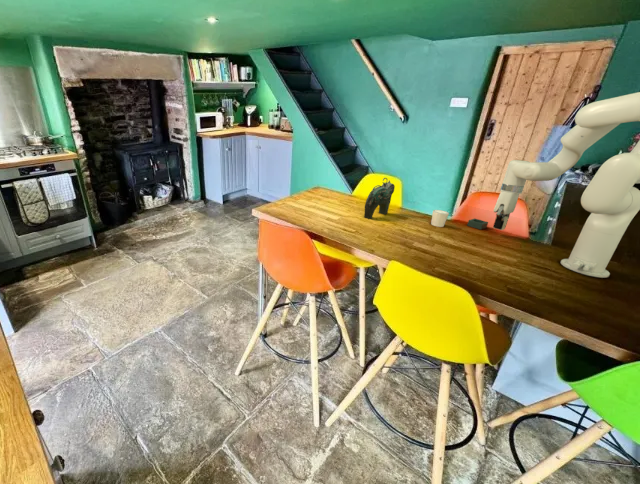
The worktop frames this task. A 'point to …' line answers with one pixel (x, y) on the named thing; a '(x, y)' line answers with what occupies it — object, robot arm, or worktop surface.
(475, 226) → the dark square tray
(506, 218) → the peg
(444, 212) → the cream cup
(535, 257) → the worktop surface
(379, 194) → the dark green arched piece
